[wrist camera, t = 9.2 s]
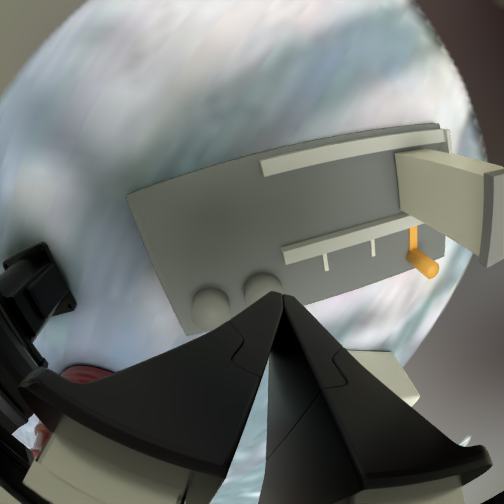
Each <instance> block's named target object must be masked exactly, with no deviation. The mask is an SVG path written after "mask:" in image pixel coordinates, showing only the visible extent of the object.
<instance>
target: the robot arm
mask: <svg viewBox="0 0 504 504" xmlns="http://www.w3.org/2000/svg"><path fill="white" fill-rule="evenodd" d="M41 247H42V248H43V250H42V249H41ZM7 265H8V266H7ZM3 267H4V269H5V272H3V273H2V274H1V275H0V504H209V503H210V502H211V500H212V499H213V497H214V496H215V494H216V493H217V491H218V490H219V488H220V486H221V485H222V483H223V482H224V480H225V478H226V476H227V473H228V470H229V468H230V465H231V462H232V460H233V457H234V455H235V452H236V449H237V447H238V444H239V441H240V439H241V436H242V433H243V431H244V428H245V425H246V422H247V420H248V417H249V414H250V411H251V408H252V405H253V403H254V400H255V397H256V394H257V391H258V388H259V385H260V382H261V379H262V376H263V373H264V370H265V367H266V364H267V361H268V358H269V379H268V415H267V444H266V467H265V475H264V481H263V485H262V489H261V494H260V498H259V502H258V504H465V503H464V495H463V488H462V486H463V485H465V484H467V483H469V482H470V481H472V480H474V479H475V478H477V477H479V476H480V475H482V474H483V473H485V472H486V471H487V470H489V469H490V468H491V467H492V460H491V457H490V455H489V453H488V451H487V450H486V448H485V447H484V446H483V445H476V446H471V447H463V446H460V445H458V444H456V443H454V442H453V441H452V440H450V439H449V438H448V437H447V436H445V435H444V434H443V433H442V432H441V431H440V430H438V429H437V428H436V427H435V426H434V425H432V424H431V423H430V422H429V421H427V420H426V419H425V418H424V417H423V416H421V415H420V414H419V413H418V412H417V411H415V410H414V409H413V408H412V407H411V406H410V405H408V404H407V403H406V402H405V401H404V400H402V399H401V398H400V397H399V396H398V395H396V394H395V393H394V392H393V391H392V390H390V389H389V388H388V387H387V386H386V385H385V384H383V383H382V382H381V381H380V380H379V379H377V378H376V377H375V376H374V375H373V374H372V373H370V372H369V371H368V370H367V369H366V368H365V367H364V366H363V365H361V364H360V363H359V362H358V361H357V360H356V359H355V358H354V357H353V356H352V355H351V354H350V353H349V352H348V351H347V350H346V349H345V348H343V346H342V345H341V344H340V343H339V342H338V341H337V340H336V339H335V338H334V337H333V336H332V335H331V334H330V333H329V332H328V331H327V330H326V329H325V328H324V327H323V326H322V325H321V324H320V323H319V322H318V320H317V319H316V318H315V317H314V316H313V315H312V314H311V313H310V312H309V311H308V310H307V309H306V308H305V307H304V306H303V305H302V304H301V303H300V302H299V301H298V300H297V299H296V298H295V297H294V296H291V295H287V294H283V295H282V294H281V293H279V292H275V291H270V292H268V293H267V294H266V295H264V296H263V297H261V298H260V299H259V300H257V301H256V302H254V303H253V304H251V305H250V306H249V307H247V308H246V309H244V310H243V311H241V312H240V313H239V314H237V315H236V316H234V317H233V318H231V319H230V320H228V321H227V322H225V323H223V324H222V325H221V326H219V327H217V328H216V329H214V330H212V331H211V332H209V333H207V334H205V335H203V336H201V337H199V338H196V339H194V340H192V341H190V342H188V343H185V344H183V345H181V346H178V347H176V348H174V349H172V350H169V351H167V352H165V353H162V354H160V355H158V356H155V357H153V358H150V359H148V360H146V361H143V362H141V363H138V364H136V365H133V366H131V367H128V368H126V369H123V370H121V371H118V372H116V373H113V374H111V375H108V376H106V377H103V378H100V379H98V380H95V381H92V382H88V383H78V382H72V381H70V380H68V379H66V378H64V377H62V376H61V375H59V374H57V373H55V372H53V371H52V370H50V369H47V368H48V362H47V361H46V360H45V358H43V357H42V356H41V354H40V353H39V352H38V350H37V349H36V348H35V346H34V345H33V342H34V340H35V339H36V337H37V336H38V334H39V333H40V332H41V330H42V329H43V327H44V326H45V324H46V323H47V322H48V320H49V319H50V317H51V316H55V315H59V314H63V313H67V312H71V311H74V310H75V308H76V302H75V301H74V299H73V297H72V295H71V293H70V292H69V290H68V288H67V286H66V284H65V282H64V280H63V278H62V276H61V275H60V273H59V271H58V269H57V266H56V264H55V262H54V260H53V258H52V256H51V254H50V252H49V249H48V247H47V245H46V244H45V243H43V242H41V243H39V244H36V245H34V246H32V247H30V248H28V249H26V250H24V251H22V252H20V253H18V254H16V255H14V256H12V257H10V258H9V259H7V260H5V261H4V262H3ZM70 304H71V305H72V306H71V305H70ZM33 414H35V415H36V416H37V417H38V418H39V420H40V421H41V422H42V423H43V424H44V426H45V427H46V428H47V429H48V430H49V431H50V432H51V433H50V435H49V437H48V438H47V440H46V442H45V443H44V445H43V447H42V449H41V451H40V452H39V454H38V456H36V457H35V459H34V456H33V453H32V451H31V450H29V449H28V448H27V447H26V446H25V445H24V444H22V443H21V442H20V441H19V440H17V439H16V438H15V437H14V436H13V435H11V434H12V433H13V432H15V431H16V430H17V429H18V428H19V427H21V426H22V425H24V424H26V423H27V422H28V418H30V417H31V416H32V415H33ZM481 504H504V491H503V492H501V493H499V494H497V495H496V496H494V497H493V498H491V499H489V500H487V501H485V502H483V503H481Z"/></svg>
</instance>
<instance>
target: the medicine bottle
mask: <svg viewBox="0 0 504 504" xmlns="http://www.w3.org/2000/svg"><path fill="white" fill-rule="evenodd" d="M347 351H348V352H349V353H350V354H351V355H352V356H353V357H354V358H355V359H356V360H357V361H358V362H359V363H360V364H361V365H363V366H364V367H365V368H366V369H367V370H368V371H369V372H370V373H372V374H373V375H374V376H375V377H376V378H377V379H379V380H380V381H381V382H382V383H383V384H385V385H386V386H387V387H388V388H389V389H390V390H392V391H393V392H394V393H395V394H396V395H398V396H399V397H400V398H401V399H402V400H404V401H405V402H406V403H407V404H408V405H410V406H411V407H412V406H413V405H414V404H415V403H416V401H417V400H418V399H419V397H420V395H419V393H418V392H417V390H416V388H415V387H414V385H413V384H412V382H411V380H410V379H409V377H408V376H407V374H406V373H405V371H404V369H403V368H402V366H401V365H400V363H399V362H398V360H397V359H396V357H395V356H394V354H393V353H392V352H372V351H349V350H347Z"/></svg>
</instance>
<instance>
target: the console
mask: <svg viewBox="0 0 504 504" xmlns="http://www.w3.org/2000/svg"><path fill="white" fill-rule="evenodd" d="M423 148H425V149H431V150H436V151H441V152H446V153H450V154H452V145H451V136H450V129H440V125H439V124H437V123H430V124H419V125H409V126H400V127H391V128H383V129H376V130H369V131H362V132H356V133H350V134H344V135H338V136H333V137H327V138H322V139H317V140H312V141H307V142H302V143H298V144H293V145H289V146H284V147H280V148H276V149H271V150H267V151H263V152H259V153H255V154H251V155H248V156H244V157H240V158H236V159H233V160H229V161H226V162H222V163H219V164H215V165H212V166H209V167H205V168H202V169H199V170H196V171H192V172H189V173H186V174H183V175H180V176H177V177H174V178H171V179H168V180H165V181H162V182H159V183H157V184H154V185H151V186H148V187H145V188H143V189H140V190H137V191H135V192H132V193H129V194H128V195H126V199H127V202H128V205H129V207H130V210H131V213H132V215H133V218H134V221H135V223H136V226H137V228H138V231H139V233H140V236H141V238H142V241H143V243H144V246H145V248H146V250H147V253H148V255H149V258H150V260H151V262H152V265H153V267H154V269H155V271H156V274H157V276H158V278H159V280H160V283H161V285H162V287H163V289H164V291H165V293H166V296H167V298H168V300H169V302H170V304H171V306H172V308H173V310H174V312H175V314H176V316H177V318H178V320H179V322H180V324H181V326H182V328H183V330H184V332H185V334H186V336H189V335H194V334H198V333H202V332H207V331H212V330H214V329H216V328H217V327H219V326H221V325H222V324H223V323H225V322H227V321H228V320H230V319H231V318H233V317H234V316H236V315H237V314H239V313H240V312H241V311H243V310H244V309H246V308H247V307H249V306H250V305H251V304H253V303H254V302H256V301H257V300H259V299H260V298H261V297H263V296H264V295H266V294H267V293H268V292H270V291H275V292H279V293H281V294H282V295H283V294H287V295H291V296H294V297H295V298H296V299H297V300H298V301H299V302H300V303H301V304H302V305H303V306H304V305H308V304H311V303H314V302H318V301H321V300H324V299H327V298H330V297H334V296H337V295H340V294H343V293H346V292H349V291H352V290H355V289H358V288H361V287H364V286H367V285H370V284H372V283H375V282H378V281H381V280H384V279H387V278H389V277H392V276H395V275H398V274H400V273H403V272H406V271H408V270H411V269H414V268H416V269H418V270H419V271H420V272H421V273H422V274H423V275H425V276H426V277H427V278H428V279H432V278H434V277H435V276H436V275H437V273H438V271H439V265H438V263H436V262H435V261H434V260H436V259H439V258H441V257H444V252H445V235H444V234H442V233H441V232H439V231H437V230H435V229H434V228H432V227H430V226H428V225H427V224H425V223H423V222H421V221H420V220H418V219H416V218H414V217H412V216H411V215H409V214H407V213H405V212H403V211H401V210H400V198H399V187H398V177H397V168H396V160H395V153H398V152H404V151H410V150H417V149H423Z"/></svg>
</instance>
